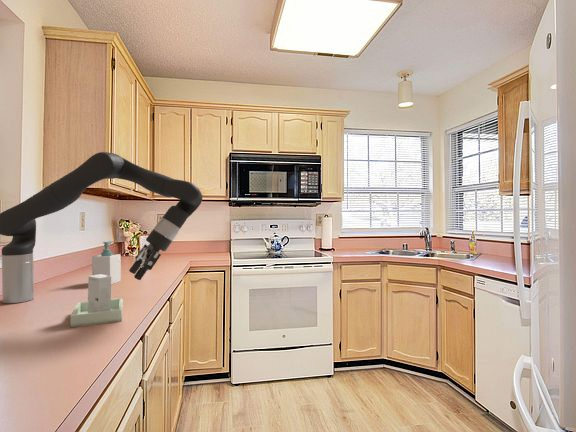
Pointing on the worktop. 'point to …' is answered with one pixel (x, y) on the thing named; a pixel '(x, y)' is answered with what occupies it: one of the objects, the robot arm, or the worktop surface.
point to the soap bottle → (107, 264)
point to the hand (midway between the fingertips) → (134, 275)
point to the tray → (96, 314)
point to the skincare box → (99, 293)
